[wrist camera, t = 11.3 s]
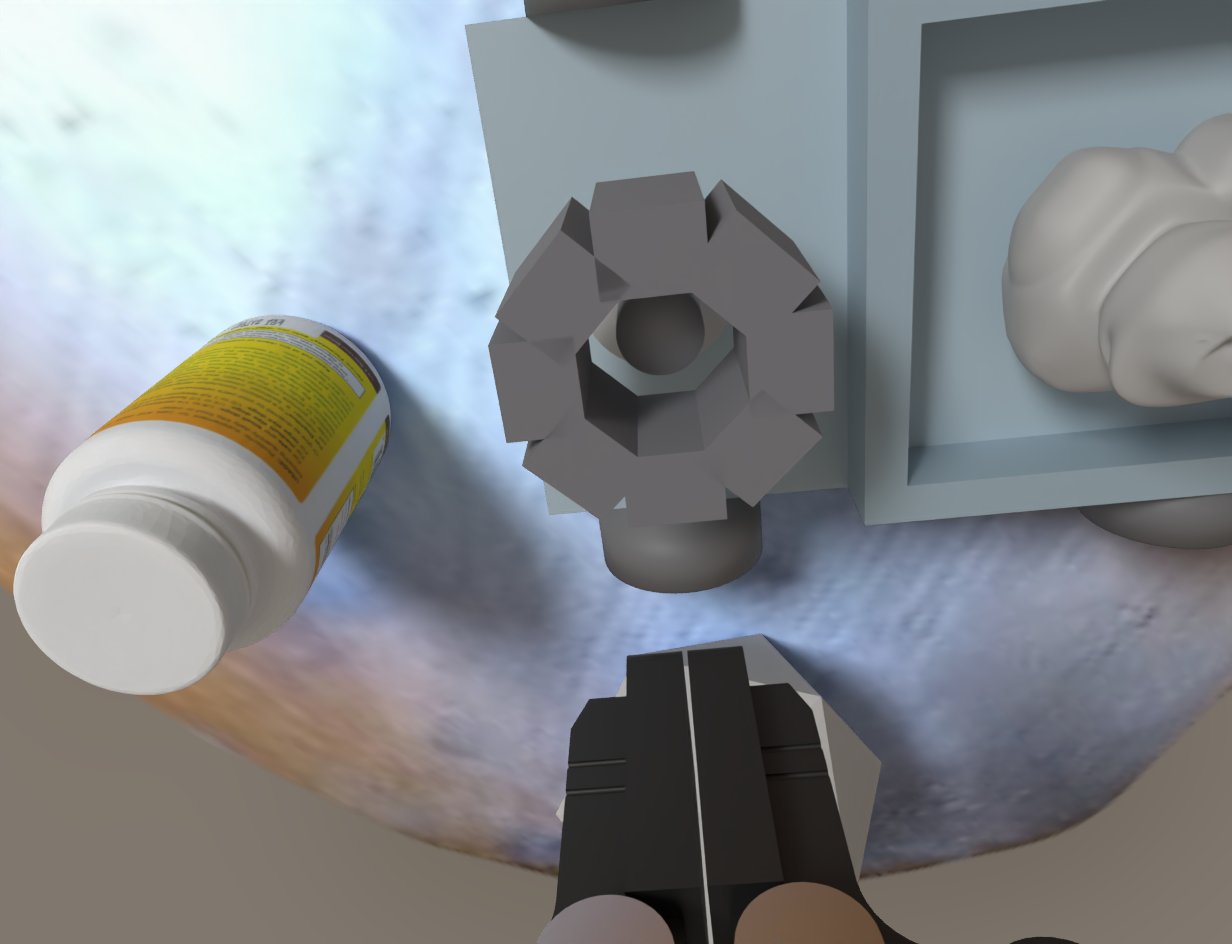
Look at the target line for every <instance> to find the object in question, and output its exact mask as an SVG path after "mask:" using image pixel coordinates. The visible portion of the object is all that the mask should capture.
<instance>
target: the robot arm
mask: <svg viewBox="0 0 1232 944" xmlns="http://www.w3.org/2000/svg"><path fill="white" fill-rule="evenodd" d="M687 656H688V668H689V679H690V691H691V703H692V714H693V726H694V737H695V749H696V761H697V772H698V784H699V796H700V807H701V819H702V830H703V842H704V854H705V865H706V877H707V888H708V898H709V907H710V917H711V926H712V936H713V944H917V943H915V942H913V941H911V940H909V939H907V938H905V937H904V936H902V935H900V934H899V933H897V932H895V931H894V930H893V929H892V928H890V927H889V926H888V925H886V924H885V923H884V922H883V921H882V920H881V919H880V918H879V917H878V916H877V915H876V914H875V913H874V912H873V910H872V909H871V908H870V906H869V905H868V904H867V902H866V900H865V899H864V897H863V895H862V893H861V891H860V888H859V886H858V883H857V880H856V876H855V872H854V868H853V864H852V861H851V857H850V853H849V849H848V845H847V841H846V837H845V834H844V830H843V826H842V822H841V818H840V814H839V810H838V807H837V803H836V799H835V795H834V791H833V787H832V783H831V780H830V777H829V775H828V768H827V764H826V760H825V756H824V753H823V749H822V748H821V741H820V737H819V733H818V729H817V725H816V722H815V718H814V714H813V710H812V709H811V708H810V706H809V705H808V704H807V703H806V702H805V701H804V700H803V699H802V697H801V696H800V695H799V694H798V693H797V692H796V691H795V690H794V688H793V687H792V686H791V685H790V684H789V683H779V684H767V685H755V686H750V685H749V679H748V673H747V667H746V662H745V656H744V651H743V647H742V646H734V647H722V648H710V649H698V650H687ZM568 766H569V769H568V770H567V781H566V797H565V805H564V816H563V828H562V839H561V851H560V863H559V874H558V886H557V898H556V905H555V911H554V914H553V917H552V920H551V922H550V923H549V924H548V925H547V926H546V928H545V929H544V931H543V932H542V934H541V935H540V937H539V939H538V942H537V944H709V938H708V926H707V913H706V901H705V889H704V877H703V865H702V853H701V841H700V829H699V816H698V804H697V792H696V781H695V770H694V759H693V749H692V739H691V729H690V720H689V710H688V701H687V691H686V681H685V672H684V662H683V654H682V651H677V652H665V653H653V654H641V655H629V656H627V673H626V696H622V697H610V698H597V699H589V701H588V703H587V704H586V706H585V707H584V709H583V711H582V712H581V714H580V715H579V717H578V719H577V720H576V722H575V723H574V725H573V727H572V728H571V735H570V746H569V758H568ZM1010 944H1078V943H1075V942H1072V941H1069V940H1065V939H1059V938H1054V937H1032V938H1025V939H1021V940H1018V941H1015V942H1012V943H1010Z"/></svg>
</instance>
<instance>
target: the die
mask: <svg viewBox="0 0 1232 944" xmlns="http://www.w3.org/2000/svg"><path fill="white" fill-rule="evenodd" d="M734 646H742V647H743V651H744V656H745V662H746V667H747V673H748V679H749V685H750V686H755V685H767V684H779V683H789V684H790V685H791V686H792V687H793V688H794V690H795V691H796V692H797V693H798V694H799V695H800V696H801V697H802V699H803V700H804V701H805V702H806V703H807V704H808V705H809V706H810V708H811V709H812V710H813V714H814V718H815V722H816V725H817V729H818V733H819V737H820V741H821V748H822V749H823V753H824V756H825V760H826V764H827V768H828V775H829V777H830V780H831V783H832V787H833V791H834V795H835V799H836V803H837V807H838V810H839V814H840V818H841V822H842V826H843V830H844V834H845V837H846V841H847V845H848V849H849V853H850V857H851V861H852V864H853V868H854V872H855V876H856V880H857V883H858V882H859V876H860V871H861V866H862V861H863V856H864V851H865V846H866V841H867V836H868V831H869V826H870V821H871V816H872V811H873V805H874V800H875V795H876V790H877V785H878V780H879V775H880V770H881V765H882V762H881V761H880V760H879V759H878V758H877V757H876V756H875V755H874V754H873V753H872V751H871V750H870V749H869V748H868V747H867V746H866V745H865V744H864V743H863V742H862V741H861V739H860V738H859V737H858V736H857V735H856V734H855V733H854V732H853V731H852V730H851V729H850V728H849V726H848V725H847V724H846V723H845V722H844V721H843V720H842V719H841V718H840V717H839V716H838V715H837V713H836V712H835V711H834V710H833V709H832V708H831V707H830V706H829V705H828V704H827V703H826V701H825V700H824V699H823V698H822V697H821V696H820V695H819V694H818V693H817V692H816V691H815V690H814V689H813V688H812V687H811V686H810V684H809V683H808V682H807V681H806V680H805V679H804V678H803V677H802V676H801V675H800V674H799V673H798V672H797V671H796V670H795V669H794V668H793V667H792V666H791V665H790V663H789V662H788V661H787V660H786V659H785V658H784V657H783V656H782V655H781V654H780V653H779V652H778V651H777V650H776V649H775V648H774V647H773V646H772V645H771V643H770V642H769V641H768V640H767V639H766V638H765V637H764V636H763V635H762V634H757V635H751V636H745V637H739V638H733V639H727V640H721V641H715V642H710V643H704V644H698V645H692V646H686V647H680V648H674V649H668V650H663V651H657V652H651V653H645V654H653V653H665V652H677V651H682V654H683V662H684V672H685V681H686V691H687V701H688V710H689V720H690V729H691V739H692V749H693V759H694V770H695V781H696V792H697V804H698V816H699V829H700V841H701V853H702V865H703V877H704V889H705V901H706V913H707V926H708V938H709V944H713V936H712V926H711V917H710V907H709V898H708V888H707V877H706V865H705V854H704V842H703V830H702V819H701V807H700V796H699V784H698V772H697V761H696V749H695V737H694V726H693V714H692V703H691V691H690V679H689V668H688V656H687V650H698V649H710V648H722V647H734ZM639 655H641V654H639ZM622 696H626V677H625V679H624V681H623V683H622V685H621V687H620V689H619V691H618V693H617V695H616V697H622ZM565 797H566V795H565ZM565 797H564V799H563V801H562V803H561V805H560V807H559V809H558V811H557V813H556V815H557V816H558V818H559V819H560V820H561V821H562V823H563V816H564V805H565Z"/></svg>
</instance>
